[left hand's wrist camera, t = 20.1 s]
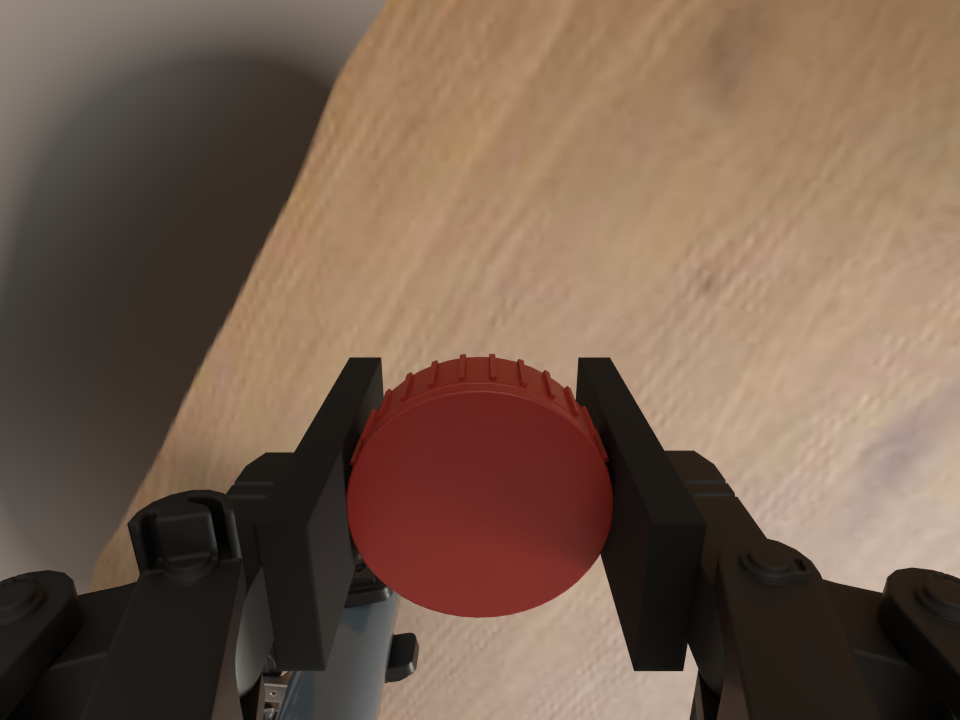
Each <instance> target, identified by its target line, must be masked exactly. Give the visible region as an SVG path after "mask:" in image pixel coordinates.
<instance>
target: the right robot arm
mask: <svg viewBox="0 0 960 720" xmlns="http://www.w3.org/2000/svg"><path fill="white" fill-rule="evenodd" d="M392 594H393V590H392V589H390V588H389V587H388V586H387V585H385V584H384V583H383V582H382V581H381V580H380V579H379V578H378V577H377V576H376V575H375V574H374V573H373V572H372V571H371V569H370V568H369V567H368V566H367V565H366V563H365V562H364V560H363V559H362V558H360V559H358V560H357V563H356V567H355V570H354V574H353V577H352V581H351V584H350V588H349V591H348V595H347V598H346V601H345V605H344V608H347V607H353V606H360V605H366V604H372V603H378V602H383V601H386V600H388V599H389V598H390V597H391V596H392ZM418 651H419V645H418V642H417V639H416V636H415V634H413V633H404V634H398V635H393V640H392V646H391V651H390V656H389V662H388V667H387V673H386V678H385V683H388V682H395V681H400V680H402V679H404V678H406V677H408V675H411V674H412V673H413V672H414V671H415V670H416V667H417V659H418ZM281 674H282V671H276V665H275V659H274V652H273V646H271V649H270V651H269V654H268V656H267V659H266V661H265V664H264V666H263V668H262V675H263V681H264V687H265V694H266V696H265V706H264V715H263V720H275V718H276V715H277V713H278V710H279V707H280V704H281V701H282V699H283V696H284V693H285V690H286V688H287V685H288V682H289V679H290V677H291V674H292V671H288V672H287V673H286V674H285V675H283V676H281Z"/></svg>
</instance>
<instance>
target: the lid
mask: <svg viewBox="0 0 960 720" xmlns="http://www.w3.org/2000/svg"><path fill="white" fill-rule="evenodd" d="M608 461H609V458H608V456H607V453H606V451H605V448H604V446H603V443H602V441H601V438H600V436H599V433H598V431H597V428H595V427H594V425H593V422H592V420H591V417H590V415H589V412H588V410H587V408H586V406H583V407H581V406H580V405H579V403H578V402H577V401H576V400H575V399H574V396H573V393H572V391H571V389H570V388H569V387H568V386H567V387H565V388H563V387H562V386H561V385H560V384H559V383H558V382H556V381H555V380H553V379H552V378H551V377H550V373H549V372H548V371H546V370H544V372H543V373H542V372H540V371H538V370H536V369H534V368H532V367H529V366H526V365H524V361H523V360H520V359H518V361H517V362H515V361H510V360H505V359H500V358H495V354H489V357H469V358H466V354H463V355H460V359H455V360H449V361H446V362H442V363H439V364H438V361H437V360H436V361H433V362H432V365H431V367H428V368H426V369H424V370H422V371H419V372H418V373H416V374H414V375H413V374H412V372H410V373H409V374H407V376H406V379H405V381H404V382H402V383H401V384H400V385H399V386H397V387H396V388H395V389H394V390H393V391H392V390H390V389H388V390H387V391H386V393H385V396H384V398H383V401H382V403H381V405H380V406H379V408H378V409H377V410H374V409H372V411H371V412H370V415H369V417H368V420H367V422H366V425H365V427H364V430H363V432H362V433H361V435H360V438H359V440H358V443H357V445H356V448H355V450H354V453H353V455H352V458H351V460H350V464H349V465H351V466H353V468H352V471H351V474H350V477H349V480H348V485H347V491H346V507H347V517H348V526H349V530H350V533H351V536H352V539H353V542H354V544H355V546H356V548H357V550H358V552H359V554H360V555H361V557H362V559H363V560H364V562H365V563H366V565H367V566H368V567H369V568H370V569H371V571H372V572H373V573H374V574H375V575H376V576H377V577H378V578H379V579H380V580H381V581H382V582H383V583H384V584H385V585H387V586H388V587H389V588H390V589H392V590H393V591H395V592H396V593H398V594H399V595H400V596H402V597H404V598H406V599H408V600H409V601H411V602H413V603H415V604H418V605H420V606H423V607H425V608H428V609H430V610H434V611H437V612H441V613H444V614H449V615H455V616H461V617H476V618H480V617H497V616H504V615H511V614H515V613H519V612H523V611H526V610H529V609H532V608H535V607H537V606H540V605H542V604H544V603H546V602H548V601H550V600H552V599H554V598H556V597H557V596H559V595H560V594H562V593H564V592H565V591H567V590H568V589H569V588H570V587H572V586H573V585H574V584H575V583H576V582H578V581H579V580H580V579H581V578H582V577H583V576H584V575H585V574H586V573H587V571H588V570H589V569H590V568H591V567H592V565H593V564H594V562H595V561H596V560H597V558H598V557H599V555H600V553H601V551H602V549H603V547H604V545H605V543H606V541H607V538H608V535H609V532H610V529H611V523H612V513H613V502H614V495H613V486H612V482H611V478H610V474H609V471H608V468H607V465H606V463H605V462H608Z"/></svg>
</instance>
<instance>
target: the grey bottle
mask: <svg viewBox="0 0 960 720" xmlns="http://www.w3.org/2000/svg"><path fill="white" fill-rule="evenodd" d="M360 558H362V557H361V555H360V554H359V556H358V559H360ZM400 597H401V596H400V595H399V594H398V593H396V592H395V591H393V594H392V596H391V597H390V598H389V599H388V600H386V601H383V602H378V603H372V604H366V605H360V606H353V607H347V608H343V612H342V615H341V619H340V622H339V626H338V629H337V633H336V636H335V640H334V643H333V647H332V650H331V654H330V657H329V660H328V664H327V667H326V671H292V674H291V677H290V679H289V682H288V685H287V688H286V690H285V693H284V696H283V699H282V701H281V704H280V707H279V710H278V713H277V715H276V718H275V720H378V716H379V710H380V705H381V699H382V694H383V689H384V683H385V678H386V673H387V667H388V662H389V656H390V651H391V646H392V640H393V635H394V629H395V624H396V619H397V613H398V608H399V602H400Z"/></svg>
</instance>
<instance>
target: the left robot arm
mask: <svg viewBox="0 0 960 720" xmlns="http://www.w3.org/2000/svg"><path fill="white" fill-rule="evenodd" d="M383 398H384V396H383V380H382V364H381V358H349V360H348V362H347V363H346V365H345V367H344V368H343V370H342V372H341V374H340V375H339V377H338V379H337V380H336V382H335V384H334V385H333V387H332V389H331V391H330V392H329V394H328V396H327V397H326V399H325V401H324V403H323V404H322V406H321V408H320V409H319V411H318V413H317V414H316V416H315V418H314V420H313V421H312V423H311V425H310V426H309V428H308V430H307V432H306V433H305V435H304V437H303V438H302V440H301V442H300V444H299V445H298V447H297V449H296V450H295V452H294V453H265V454H263V455H262V456H260V457H259V458H257V459H256V460H254V461H253V462H251V463H250V464H248V465H247V466H246V467H245V468H244V470H243V471H242V472H241V474H240V475H239V477H238V478H237V479H236V481H235V484H234V485H232V487H231V488H230V489H229V491H228V492H227V494H226V495H225V494H224V493H220V492H216V491H212V490H191V491H186V492H181V493H177V494H172V495H169V496H167V497H164V498H162V499H159V500H157V501H155V502H152V503H151V504H149V505H148V506H146V507H145V508H143V509H142V510H140V511H139V512H137V513H136V514H135V516H134V517H133V518H132V519H131V520H130V522H129V523H128V524H127V525H128V529H129V533H130V537H131V541H132V545H133V549H134V553H135V557H136V560H137V564H138V568H139V572H140V575H139V578H138V580H137V582H134V583H131V584H127V585H124V586H120V587H115V588H110V589H106V590H101V591H96V592H92V593H87V594H82V595H77V592H76V588H75V585H74V582H73V580H72V579H71V578H70V577H69V576H67V575H66V574H65V573H62V572H56V571H50V570H46V571H38V572H30V573H25V574H22V575H18V576H16V577H11V578H8V579H6V580H3V581H1V582H0V720H263V715H264V706H265V696H266V694H265V687H264V681H263V675H262V668H263V666H264V664H265V661H266V659H267V656H268V654H269V651H270V649H271V646H273V652H274V659H275V665H276V671H326V667H327V664H328V660H329V657H330V654H331V650H332V647H333V643H334V640H335V636H336V633H337V629H338V626H339V622H340V619H341V615H342V612H343V608H344V605H345V601H346V598H347V595H348V591H349V588H350V584H351V581H352V577H353V574H354V570H355V567H356V563H357V560H358V556H359V552H358V550H357V548H356V546H355V544H354V542H353V539H352V536H351V533H350V530H349V526H348V517H347V507H346V491H347V485H348V480H349V477H350V474H351V471H352V468H353V466H351V465H349V464H350V460H351V458H352V455H353V453H354V450H355V448H356V445H357V443H358V440H359V438H360V435H361V433H362V432H363V430H364V427H365V425H366V422H367V420H368V417H369V415H370V412H371V411H372V409H374V410H377V409H378V408H379V406H380V405H381V403H382V401H383ZM576 401H577V402H578V403H579V405H580V406H581V407H583V406H586V408H587V410H588V412H589V415H590V417H591V420H592V422H593V425H594V427H595V428H597V431H598V433H599V436H600V438H601V441H602V443H603V446H604V448H605V451H606V453H607V456H608V458H609V461H608V462H605V463H606V465H607V468H608V471H609V474H610V478H611V482H612V486H613V495H614V502H613V513H612V523H611V529H610V532H609V535H608V538H607V541H606V543H605V545H604V547H603V549H602V551H601V553H600V554H601V558H602V561H603V565H604V568H605V571H606V575H607V578H608V582H609V585H610V589H611V592H612V596H613V599H614V603H615V606H616V610H617V613H618V617H619V620H620V624H621V627H622V631H623V634H624V637H625V641H626V644H627V648H628V651H629V655H630V658H631V662H632V665H633V669H634V671H683V669H684V662H685V656H686V650H687V644H689V647H690V649H691V652H692V654H693V657H694V659H695V661H696V664H697V666H698V675H697V681H696V686H695V692H694V698H693V703H692V709H691V715H690V720H960V579H959V578H957V577H954V576H951V575H949V574H944V573H942V572H938V571H934V570H928V569H919V568H906V569H900V570H896V571H895V572H893V573H892V574H891V575H890V576H888V577H887V580H886V584H885V587H884V590H883V593H880V592H875V591H871V590H866V589H861V588H857V587H852V586H847V585H843V584H838V583H835V582H831V581H827V580H824V579H822V577H821V574H820V573H819V571H818V570H817V569H816V567H815V566H814V564H813V563H812V561H810V560H809V559H808V558H807V557H805V556H804V555H803V554H801V553H800V552H799V551H797V550H796V549H794V548H791V547H789V546H787V545H785V544H783V543H781V542H778V541H774V540H770V539H767V538H766V536H765V535H764V534H763V532H762V531H761V529H760V528H759V527H758V525H757V524H756V522H755V521H754V520H753V518H752V517H751V515H750V514H749V513H748V511H747V510H746V508H745V507H744V506H743V504H742V503H741V501H740V500H739V499H738V497H735V493H734V492H733V490H732V489H731V487H730V486H729V485H728V483H725V479H724V478H723V476H722V475H721V473H720V472H719V471H718V469H717V468H716V466H715V465H714V464H713V463H711V462H710V461H708V460H707V459H705V458H704V457H702V456H701V455H699V454H698V453H697V452H695V451H664V449H663V448H662V446H661V444H660V442H659V441H658V439H657V437H656V436H655V434H654V432H653V431H652V429H651V427H650V425H649V424H648V422H647V420H646V419H645V417H644V415H643V413H642V412H641V410H640V408H639V407H638V405H637V403H636V401H635V400H634V398H633V396H632V395H631V393H630V391H629V390H628V388H627V386H626V384H625V383H624V381H623V379H622V378H621V376H620V374H619V372H618V371H617V369H616V367H615V366H614V364H613V362H612V361H611V359H610V358H578V374H577V390H576Z"/></svg>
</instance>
